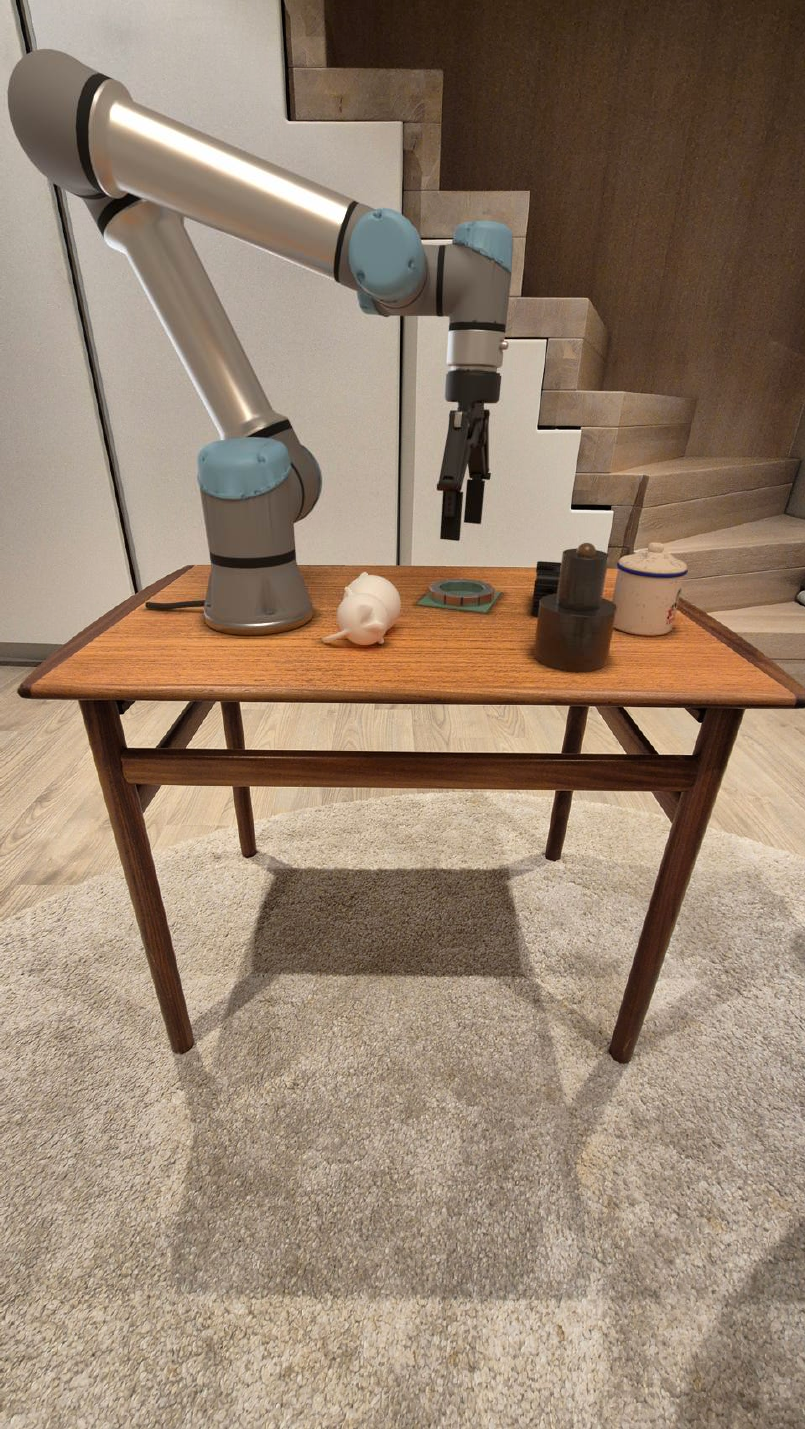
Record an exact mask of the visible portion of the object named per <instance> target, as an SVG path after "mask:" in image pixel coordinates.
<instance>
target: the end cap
mask: <svg viewBox="0 0 805 1429" xmlns="http://www.w3.org/2000/svg"><path fill="white" fill-rule="evenodd" d="M560 568H561V562H558V561H543V560H541V561H540V560H538V561H536V569H535V573H536V577H535V579H534V585H533V595H532V606H531V616H532V617H536V618H538V612H539V604H540V600H541V598H543V597H544V596H547V595H551V594H557V590H558V583H559V576H560Z"/></svg>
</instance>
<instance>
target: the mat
mask: <svg viewBox="0 0 805 1429" xmlns="http://www.w3.org/2000/svg"><path fill="white" fill-rule="evenodd" d="M448 592H449V593H455V594H475V592H470V591H448ZM501 594H502V591H499V590H495V595H494V599H493V601H492V602H491V603H490V604H486V605H483V606H478V607H462V606H461V607H454V606H446V605H442V604H439V603H436V602H434V601H432V600H431V598H430V597H429V592H427V594H425V595H424V597H422V598H421V599H420V600H419V601H418V602H417V603H416V604H417V606H421V607H422V606H424V607H432V608H439V609H447V610H454V611H455V610H456V611H463V612H471V613H481V614H488V612H489V611H490V610H491V608H492V607H493V605H494V604H495V602H496V601H497V600H498V599H499V597H500V595H501Z"/></svg>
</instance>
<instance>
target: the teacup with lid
mask: <svg viewBox="0 0 805 1429" xmlns="http://www.w3.org/2000/svg"><path fill="white" fill-rule="evenodd" d="M616 567H617V572H616V578H615V582H614V583H615V584H614V588H613V593H612V598H611V602H613V603H614V604H615V605H616V606H617V611H616V617H615V622H614V627H613V629H616V630H618V631H621V632H624V633H627V634H630V635H636V636H646V637H655V636H663V635H666V634H668V633H670V632H671V631H672V630H673V626H674V623H675V618H676V614H677V610H678V606H679V602H680V597H681V593H682V589H683V585H684V582H685V581H684V580H685V576H686V575H687V574H688V573H689V572H688V571H689V570H688V566H687V563H686V562H684V561H683V560H681V559H678V558H675V557H674V556H673V555H672V554H671V553H669V552H668V551H665V544H664V543H662V542H657V541H656V542H655V541H654V542H650V543H648V546H647V549H641V550H639V551H637V552H635V553H633V554H627V555H624V556H622V557H620V558H619V560H618V561H617V563H616Z"/></svg>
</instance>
